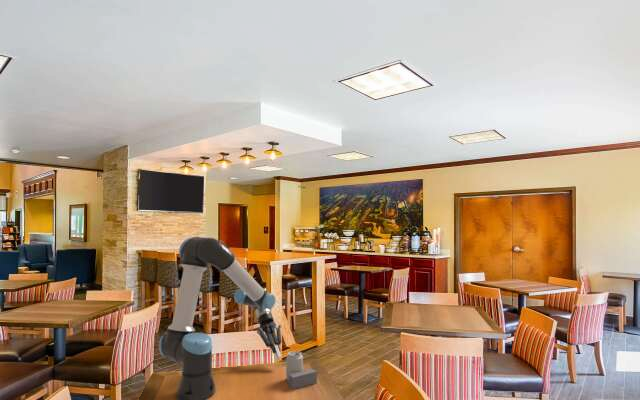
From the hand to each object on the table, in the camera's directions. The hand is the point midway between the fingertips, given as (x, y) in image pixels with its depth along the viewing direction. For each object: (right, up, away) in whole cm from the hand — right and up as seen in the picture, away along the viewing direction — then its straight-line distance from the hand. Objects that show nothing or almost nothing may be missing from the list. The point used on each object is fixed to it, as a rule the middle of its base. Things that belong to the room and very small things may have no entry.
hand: (279, 358), depth 191 cm
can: (+8, -5, -13) cm, 16 cm away
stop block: (+12, -4, -18) cm, 22 cm away
